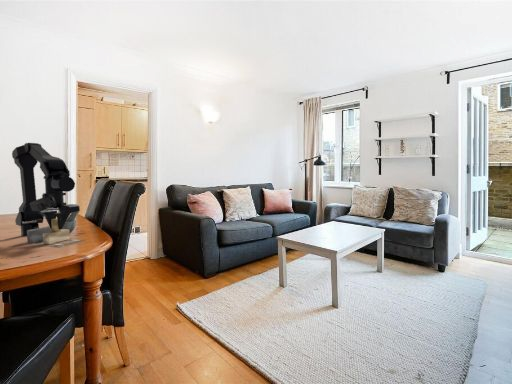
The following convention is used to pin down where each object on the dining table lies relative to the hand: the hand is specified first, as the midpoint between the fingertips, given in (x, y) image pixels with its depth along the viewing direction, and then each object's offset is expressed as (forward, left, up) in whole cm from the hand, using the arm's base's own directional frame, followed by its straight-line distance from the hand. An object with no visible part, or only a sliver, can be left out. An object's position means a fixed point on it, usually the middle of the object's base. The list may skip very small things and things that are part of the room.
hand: (56, 229), depth 113 cm
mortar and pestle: (-12, +14, -7) cm, 19 cm away
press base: (-1, 0, -7) cm, 7 cm away
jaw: (0, 0, -5) cm, 5 cm away
